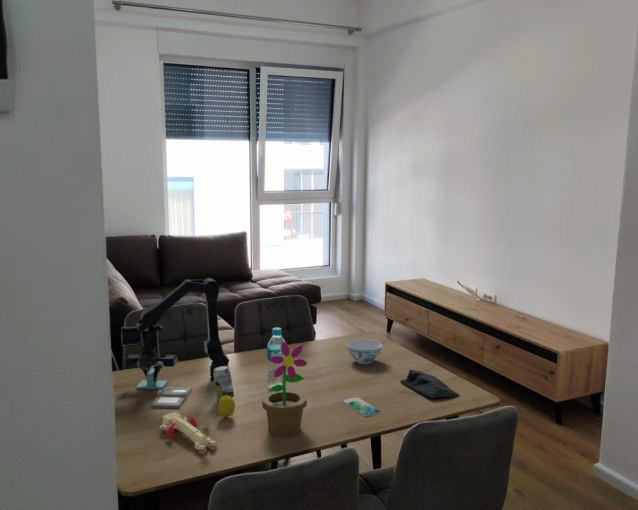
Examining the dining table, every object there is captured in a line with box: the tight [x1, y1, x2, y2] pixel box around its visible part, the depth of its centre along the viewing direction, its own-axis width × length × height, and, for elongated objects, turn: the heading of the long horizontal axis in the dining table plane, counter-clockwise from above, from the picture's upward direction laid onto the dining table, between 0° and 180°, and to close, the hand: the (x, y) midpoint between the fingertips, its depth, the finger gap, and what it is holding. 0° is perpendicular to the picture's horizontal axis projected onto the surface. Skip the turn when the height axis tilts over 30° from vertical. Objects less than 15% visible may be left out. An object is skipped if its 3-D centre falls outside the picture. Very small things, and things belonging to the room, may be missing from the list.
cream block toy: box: [159, 411, 218, 455], centre depth 177 cm, size 10×9×25 cm
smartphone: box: [341, 396, 382, 418], centre depth 200 cm, size 7×1×15 cm
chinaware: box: [346, 338, 383, 365], centre depth 246 cm, size 15×15×8 cm
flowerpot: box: [261, 342, 308, 437], centre depth 181 cm, size 14×14×30 cm
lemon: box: [217, 395, 236, 419], centre depth 191 cm, size 6×6×8 cm
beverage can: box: [213, 366, 235, 401], centre depth 205 cm, size 6×7×12 cm
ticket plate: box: [150, 386, 192, 409], centre depth 207 cm, size 10×16×2 cm, turn 178°
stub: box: [135, 367, 169, 390], centre depth 218 cm, size 10×7×6 cm
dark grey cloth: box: [399, 369, 460, 399], centre depth 217 cm, size 15×22×5 cm
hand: (152, 382), depth 219 cm, fingers closed on stub, 2 cm apart
